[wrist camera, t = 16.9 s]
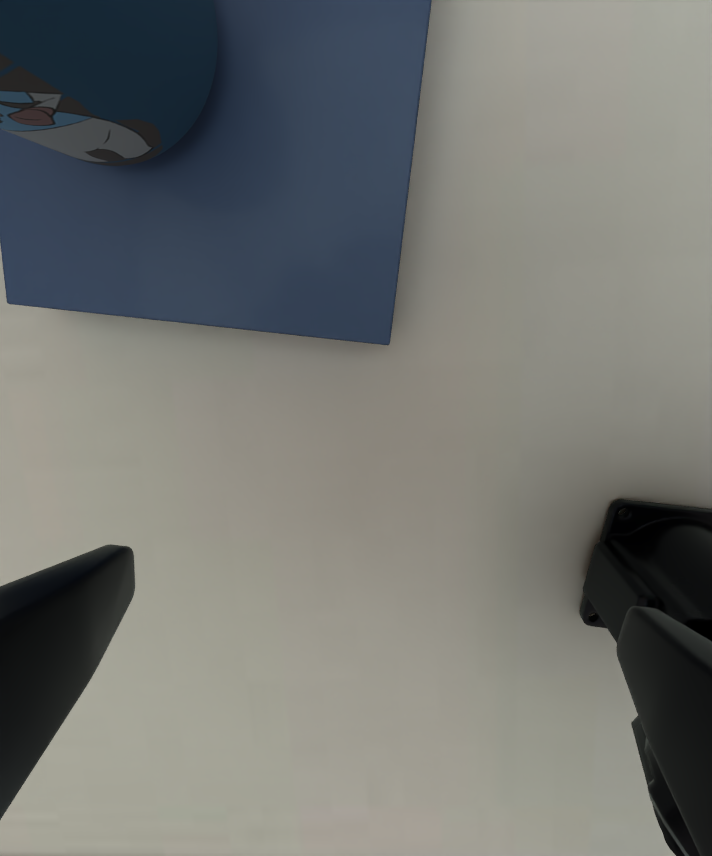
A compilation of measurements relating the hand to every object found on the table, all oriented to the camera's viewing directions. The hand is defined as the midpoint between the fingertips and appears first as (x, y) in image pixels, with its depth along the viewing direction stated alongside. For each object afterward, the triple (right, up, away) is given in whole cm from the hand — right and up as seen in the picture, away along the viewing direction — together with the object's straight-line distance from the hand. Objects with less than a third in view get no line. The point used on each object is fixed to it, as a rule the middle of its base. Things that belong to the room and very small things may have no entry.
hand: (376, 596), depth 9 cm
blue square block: (-5, +14, +10) cm, 18 cm away
